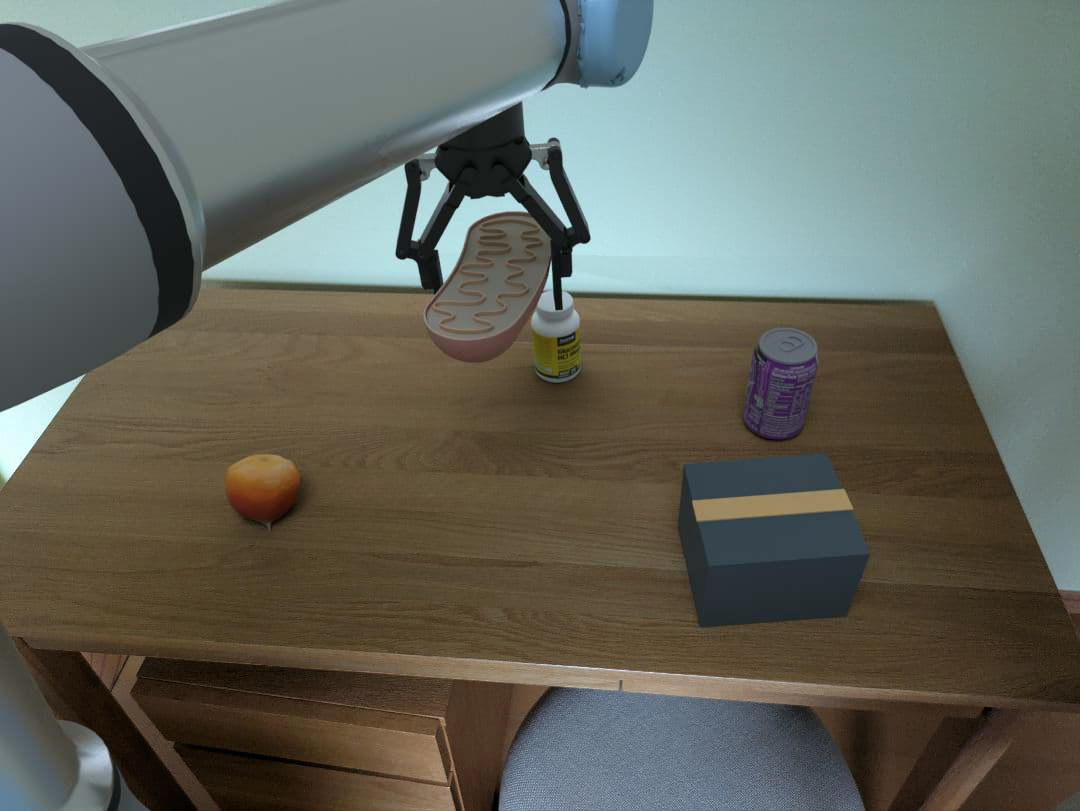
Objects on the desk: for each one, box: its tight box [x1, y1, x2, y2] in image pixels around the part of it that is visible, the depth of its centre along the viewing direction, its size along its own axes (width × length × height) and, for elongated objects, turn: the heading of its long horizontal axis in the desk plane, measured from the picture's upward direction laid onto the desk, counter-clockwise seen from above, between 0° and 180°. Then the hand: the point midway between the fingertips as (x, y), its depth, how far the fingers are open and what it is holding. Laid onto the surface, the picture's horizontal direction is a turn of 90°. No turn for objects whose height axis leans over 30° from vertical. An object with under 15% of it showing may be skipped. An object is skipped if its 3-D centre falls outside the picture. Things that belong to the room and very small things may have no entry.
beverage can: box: [742, 327, 820, 440], centre depth 89 cm, size 7×7×12 cm
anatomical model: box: [422, 210, 552, 364], centre depth 77 cm, size 23×10×5 cm, turn 168°
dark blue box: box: [677, 452, 871, 628], centre depth 75 cm, size 14×12×10 cm
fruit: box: [224, 453, 302, 533], centre depth 86 cm, size 8×8×8 cm
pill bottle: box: [530, 289, 582, 384], centre depth 99 cm, size 6×6×11 cm
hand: (500, 307), depth 79 cm, fingers closed on anatomical model, 11 cm apart
